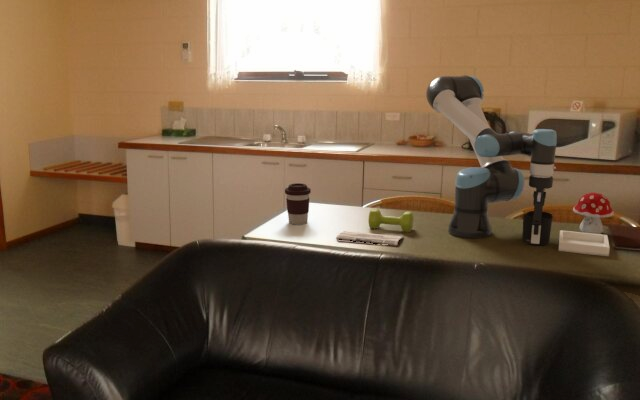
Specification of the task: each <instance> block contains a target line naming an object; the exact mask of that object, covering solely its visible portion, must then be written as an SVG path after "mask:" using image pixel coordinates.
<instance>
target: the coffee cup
mask: <svg viewBox="0 0 640 400" xmlns="http://www.w3.org/2000/svg"><path fill="white" fill-rule="evenodd" d="M311 190H312V189H311V188H310V187H308V185H307V184H305V183H299V182H297V183H296V182H295V183H291V184H289V185H288V187H285V188H284V194H285V195H286V210H287V212H286V213H287V214H288V215H287V216H288V223H289V224H291V225H295V224H301V225H305V224H307V223H308V218H309V209H310V194H311Z"/></svg>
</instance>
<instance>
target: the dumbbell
mask: <svg viewBox="0 0 640 400" xmlns="http://www.w3.org/2000/svg"><path fill="white" fill-rule="evenodd" d="M414 219H415V218H414V214H413V212H412V211H405V212H404V213H403V214H402V215H400V216H398V217H397V216H394V215H393V216H392V215H383V214H382V213H381V211H380V209H378V208H372V209H371V210H370V211H369V213H368V227H369V229H371V228H377V229H378V228H380V226H381V225H382V224H384V225H392V226H393V225H395V226H400V227H401V231H403V232H404V231H406V233H411V231H412V229H413V227H414Z"/></svg>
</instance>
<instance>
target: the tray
mask: <svg viewBox="0 0 640 400" xmlns="http://www.w3.org/2000/svg"><path fill="white" fill-rule="evenodd" d="M609 243H610V242H609V237H608V234H602V233H601V234H592V233H582V232H581V231H572V230H571V231H570V230H563V229H562V230H559V237H558V252H564V253H565V252H567V253H574V254H583V255H594V256H599V257H600V256H601V257H610V249H611V248H610V244H609Z"/></svg>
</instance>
